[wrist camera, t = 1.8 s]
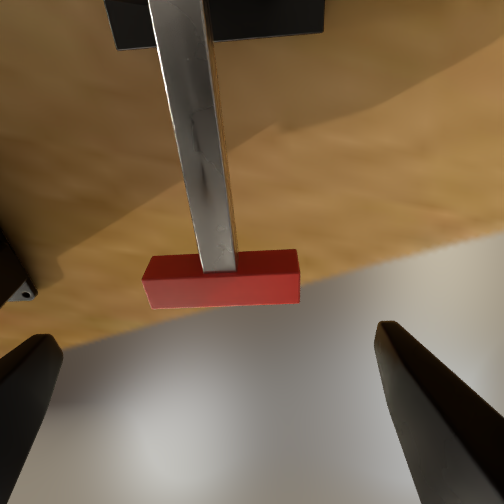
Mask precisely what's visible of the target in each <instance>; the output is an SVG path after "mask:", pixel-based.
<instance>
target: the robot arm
mask: <svg viewBox="0 0 504 504" xmlns="http://www.w3.org/2000/svg"><path fill="white" fill-rule="evenodd" d="M37 295H38V291H37V289H36V287H35V286H34V284H33V282H32V281H31V279H30V277H29V276H28V274H27V272H26V271H25V269H24V267H23V266H22V264H21V262H20V261H19V259H18V257H17V256H16V254H15V252H14V250H13V249H12V247H11V245H10V244H9V242H8V240H7V239H6V237H5V235H4V234H3V232H2V230H1V229H0V309H1V308H2V306H3V305H4V304H5V303H6V302H8V301H30V300H33V299H34V298H35V297H36V296H37ZM374 349H375V354H376V358H377V363H378V367H379V372H380V376H381V380H382V384H383V389H384V393H385V397H386V402H387V406H388V409H389V412H390V415H391V418H392V421H393V423H394V427H395V429H396V432H397V435H398V438H399V441H400V444H401V446H402V449H403V452H404V455H405V458H406V461H407V464H408V467H409V469H410V472H411V475H412V478H413V481H414V484H415V486H416V489H417V492H418V495H419V498H420V501H421V504H504V417H503V416H501V415H500V414H499V413H498V412H497V411H496V410H495V409H494V408H493V407H491V406H490V405H489V404H488V403H487V402H486V401H485V400H484V399H483V398H481V397H480V396H479V395H478V394H477V393H476V392H475V391H473V390H472V389H471V388H470V387H469V386H468V385H467V384H466V383H465V382H463V381H462V380H461V379H460V378H459V377H458V376H457V375H456V374H454V373H453V372H452V371H451V370H450V369H449V368H448V367H447V366H446V365H444V364H443V363H442V362H441V361H440V360H439V359H438V358H437V357H435V356H434V355H433V354H432V353H431V352H430V351H429V350H428V349H426V348H425V347H424V346H423V345H422V344H421V343H420V342H419V341H417V340H416V339H415V338H414V337H413V336H412V335H411V334H410V333H409V332H407V331H406V330H405V329H404V328H403V327H402V326H401V325H400V324H398V323H397V322H395V321H380V322H379V323H378V326H377V330H376V335H375V340H374ZM62 361H63V352H62V350H61V348H60V347H59V345H58V344H57V342H56V340H55V339H54V337H53V336H52V335H50V334H36V335H33V336H31V337H30V338H29V339H27V340H26V341H24V342H23V343H22V344H20V345H19V346H17V347H16V348H15V349H13V350H12V351H10V352H9V353H8V354H6V355H5V356H3V357H2V358H1V359H0V504H7V502H8V500H9V498H10V495H11V493H12V491H13V489H14V486H15V484H16V482H17V479H18V477H19V475H20V472H21V470H22V468H23V465H24V463H25V461H26V459H27V456H28V454H29V452H30V449H31V447H32V445H33V442H34V440H35V438H36V435H37V433H38V431H39V428H40V426H41V424H42V421H43V419H44V416H45V414H46V411H47V408H48V405H49V402H50V399H51V396H52V393H53V390H54V387H55V384H56V381H57V377H58V374H59V371H60V368H61V365H62Z"/></svg>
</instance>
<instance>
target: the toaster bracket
mask: <svg viewBox="0 0 504 504" xmlns="http://www.w3.org/2000/svg"><path fill="white" fill-rule="evenodd" d="M103 1H104V4H105V8H106V12H107V16H108V19H109V23H110V27H111V31H112V35H113V38H114V42H115V46H116V49H117V50H118V51H123V50H134V49H146V48H157V45H156V40H155V36H154V31H153V26H152V21H151V16H150V11H149V6H148V1H147V0H103ZM208 1H209V9H210V18H211V26H212V34H213V43H214V42H225V41H237V40H248V39H260V38H271V37H282V36H294V35H305V34H317V33H323V31H324V9H325V0H208Z"/></svg>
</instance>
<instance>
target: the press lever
mask: <svg viewBox="0 0 504 504" xmlns="http://www.w3.org/2000/svg"><path fill="white" fill-rule="evenodd" d="M147 1H148V6H149V11H150V16H151V21H152V26H153V31H154V36H155V40H156V45H157V50H158V55H159V60H160V65H161V70H162V75H163V80H164V85H165V89H166V94H167V99H168V104H169V109H170V114H171V119H172V124H173V129H174V134H175V138H176V143H177V148H178V153H179V158H180V163H181V168H182V173H183V178H184V183H185V187H186V192H187V197H188V202H189V207H190V212H191V217H192V222H193V227H194V232H195V236H196V241H197V246H198V251H199V254H184V255H164V256H152V258H151V260H150V262H149V264H148V267H147V269H146V271H145V273H144V275H143V277H142V283H143V286H144V289H145V292H146V295H147V298H148V300H149V303H150V306H151V309H168V308H194V307H219V306H245V305H268V304H269V305H270V304H295V303H299V302H300V268H299V262H298V255H297V250H296V249H286V250H266V251H245V252H238V244H237V235H236V227H235V218H234V210H233V202H232V193H231V185H230V177H229V168H228V160H227V151H226V143H225V135H224V126H223V118H222V110H221V101H220V93H219V84H218V76H217V68H216V59H215V51H214V43H213V34H212V26H211V18H210V9H209V1H208V0H147Z"/></svg>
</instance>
